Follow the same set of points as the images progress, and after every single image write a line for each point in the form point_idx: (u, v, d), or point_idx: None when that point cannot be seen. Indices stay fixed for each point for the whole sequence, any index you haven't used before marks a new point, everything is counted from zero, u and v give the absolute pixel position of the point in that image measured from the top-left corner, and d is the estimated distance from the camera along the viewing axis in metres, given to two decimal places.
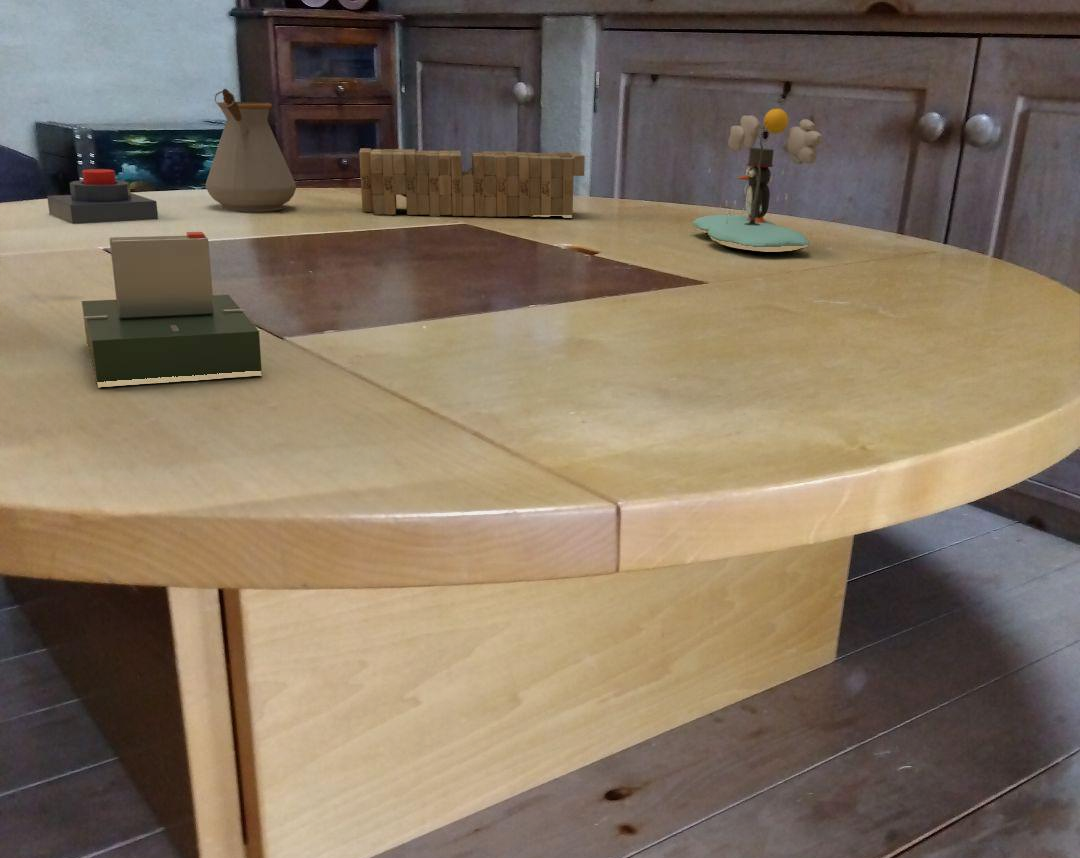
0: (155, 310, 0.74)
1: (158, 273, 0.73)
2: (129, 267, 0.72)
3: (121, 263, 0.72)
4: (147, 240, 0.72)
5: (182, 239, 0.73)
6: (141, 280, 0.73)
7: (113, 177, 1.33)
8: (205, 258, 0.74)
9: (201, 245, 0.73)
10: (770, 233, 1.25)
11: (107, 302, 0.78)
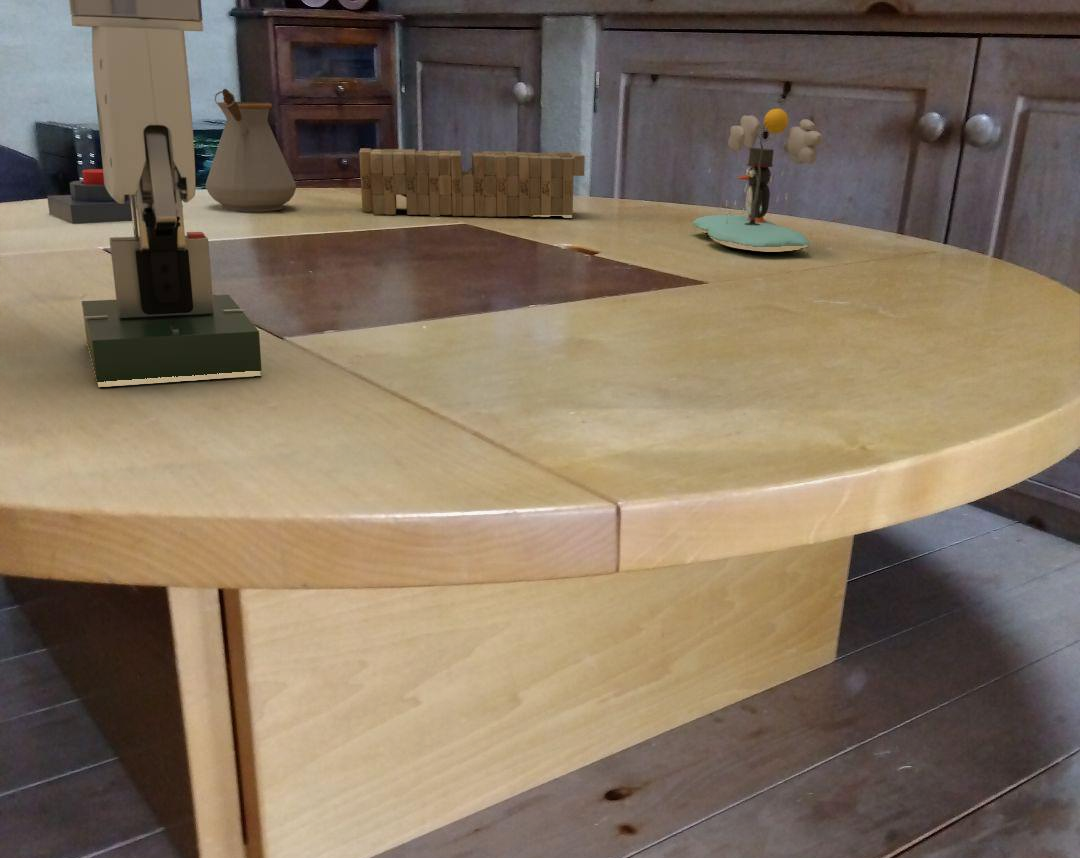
0: None
1: None
2: (129, 267, 0.72)
3: (121, 263, 0.72)
4: None
5: None
6: None
7: None
8: (205, 258, 0.74)
9: (201, 245, 0.73)
10: (770, 233, 1.25)
11: (107, 302, 0.78)
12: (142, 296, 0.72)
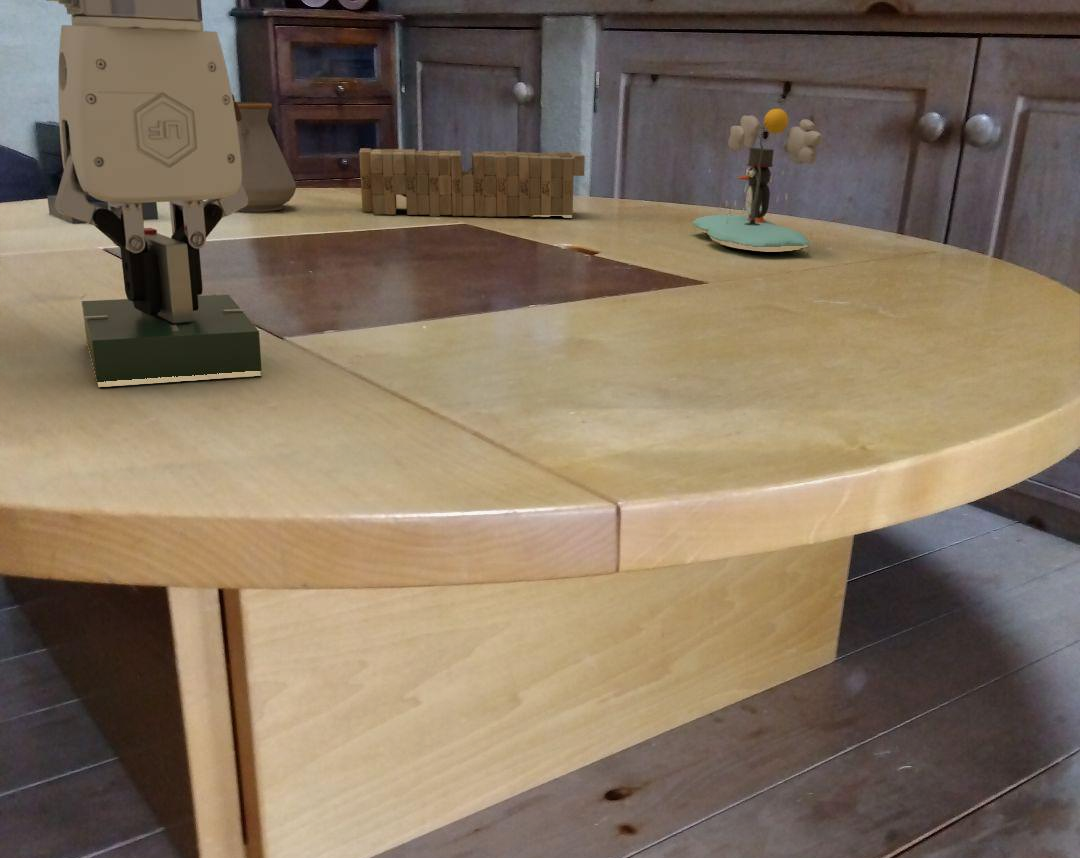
0: None
1: None
2: None
3: None
4: (173, 239, 0.73)
5: (160, 235, 0.74)
6: None
7: None
8: None
9: None
10: (770, 233, 1.25)
11: (107, 302, 0.78)
12: (196, 293, 0.74)
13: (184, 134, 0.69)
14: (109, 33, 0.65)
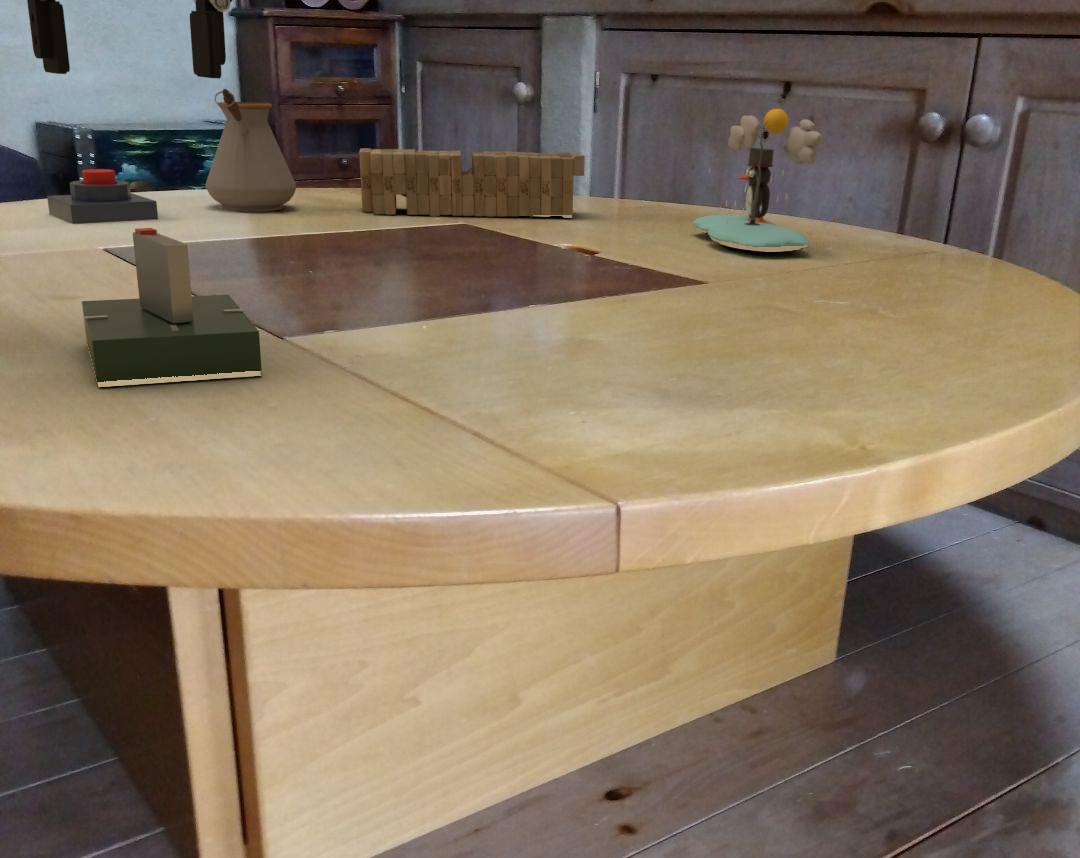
0: None
1: None
2: None
3: None
4: (173, 239, 0.73)
5: (160, 235, 0.74)
6: None
7: (113, 177, 1.33)
8: None
9: None
10: (770, 233, 1.25)
11: (107, 302, 0.78)
12: (219, 59, 0.73)
13: None
14: None
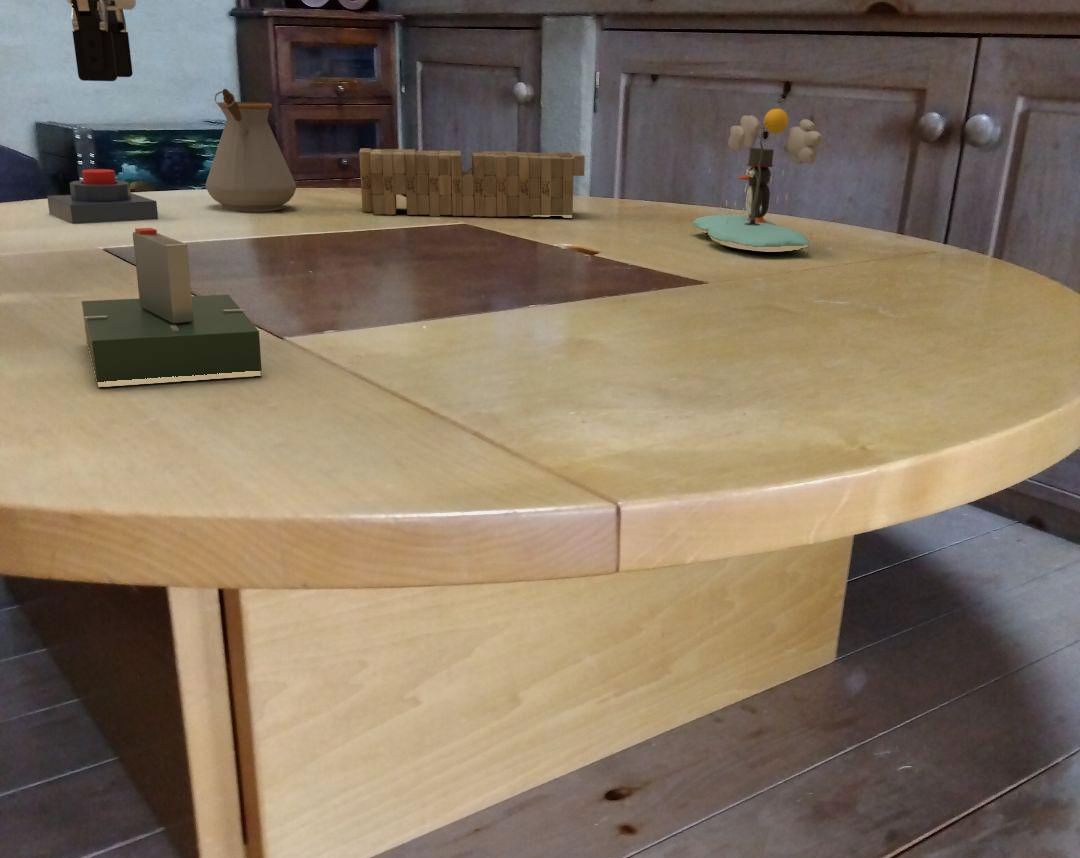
0: None
1: None
2: None
3: None
4: (173, 239, 0.73)
5: (160, 235, 0.74)
6: None
7: (113, 177, 1.33)
8: None
9: None
10: (770, 233, 1.25)
11: (107, 302, 0.78)
12: None
13: None
14: None
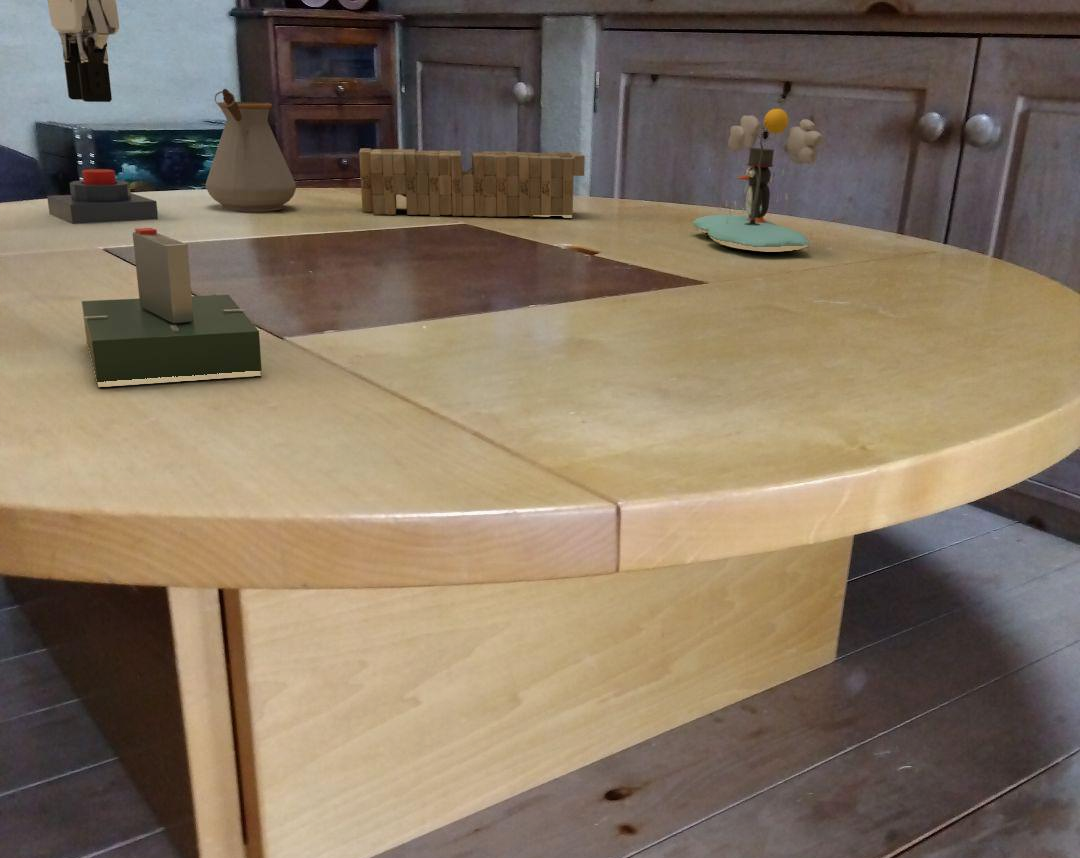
0: None
1: None
2: None
3: None
4: (173, 239, 0.73)
5: (160, 235, 0.74)
6: None
7: (113, 177, 1.33)
8: None
9: None
10: (770, 233, 1.25)
11: (107, 302, 0.78)
12: None
13: None
14: None
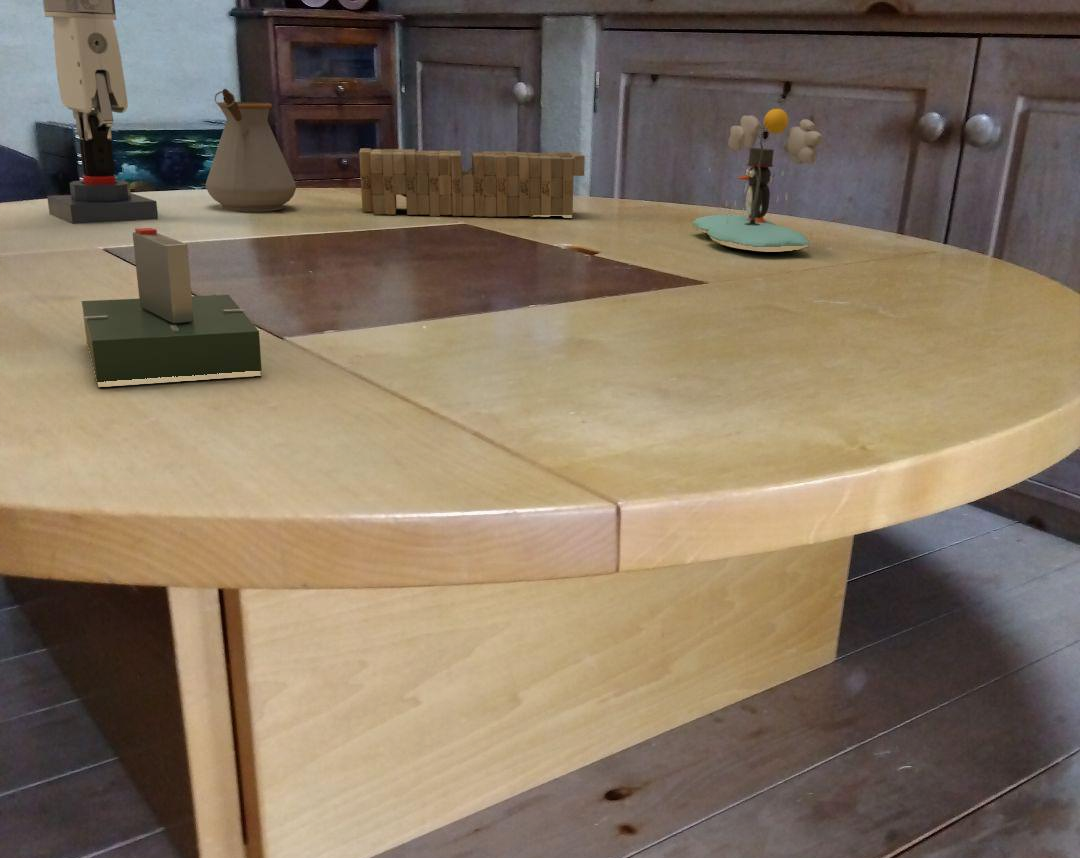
0: None
1: None
2: None
3: None
4: (173, 239, 0.73)
5: (160, 235, 0.74)
6: None
7: (114, 182, 1.33)
8: None
9: None
10: (770, 233, 1.25)
11: (107, 302, 0.78)
12: None
13: None
14: None
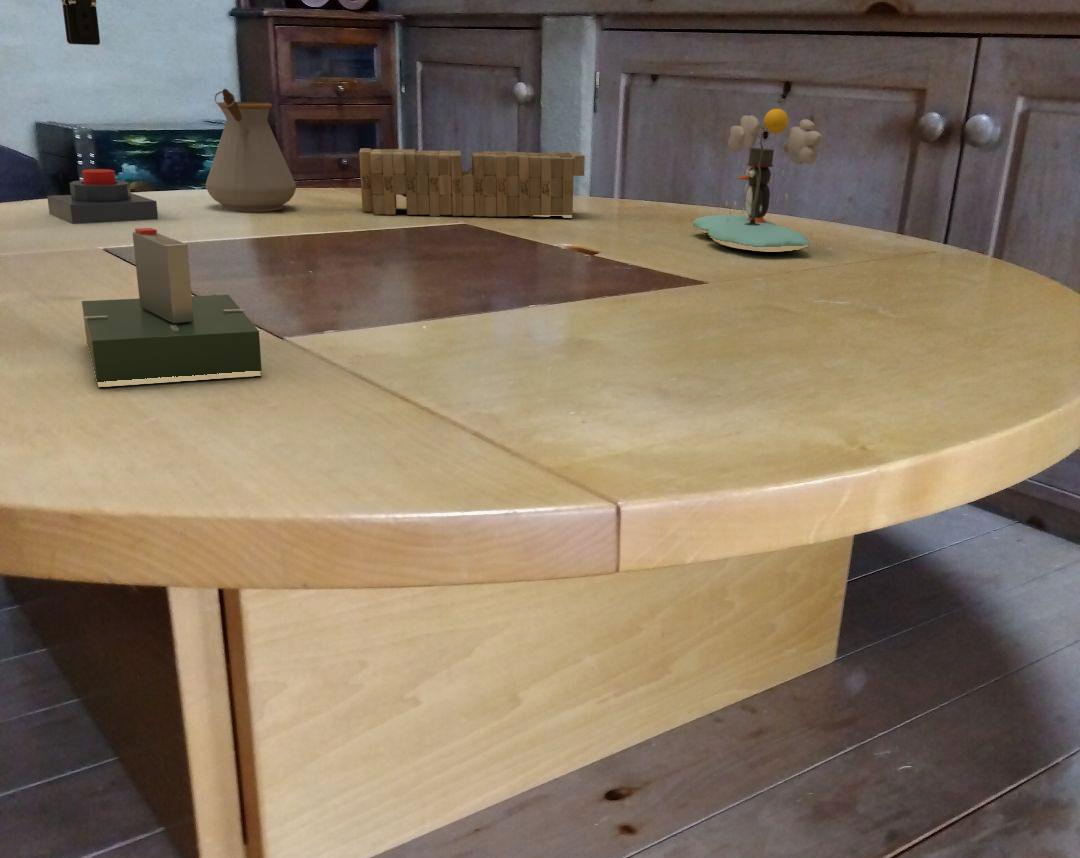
0: None
1: None
2: None
3: None
4: (173, 239, 0.73)
5: (160, 235, 0.74)
6: None
7: (113, 177, 1.33)
8: None
9: None
10: (770, 233, 1.25)
11: (107, 302, 0.78)
12: None
13: None
14: None
